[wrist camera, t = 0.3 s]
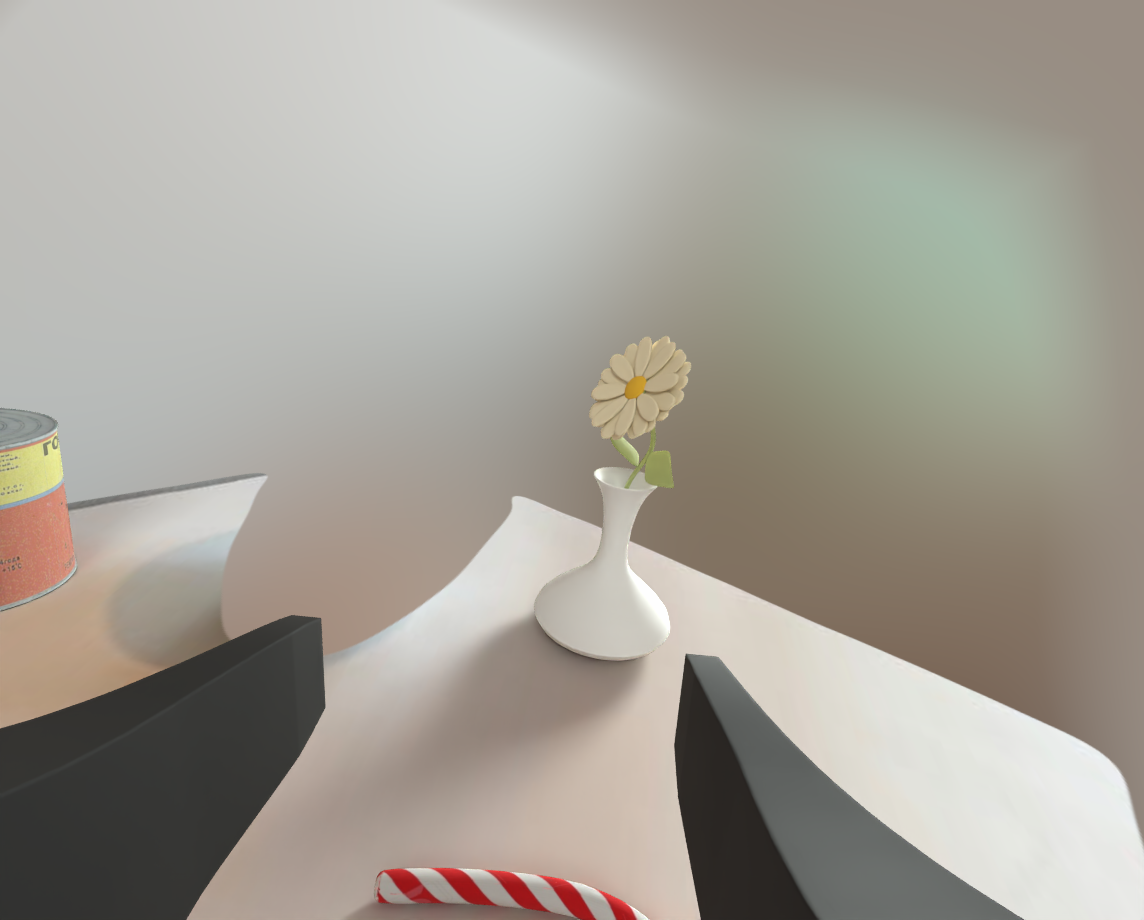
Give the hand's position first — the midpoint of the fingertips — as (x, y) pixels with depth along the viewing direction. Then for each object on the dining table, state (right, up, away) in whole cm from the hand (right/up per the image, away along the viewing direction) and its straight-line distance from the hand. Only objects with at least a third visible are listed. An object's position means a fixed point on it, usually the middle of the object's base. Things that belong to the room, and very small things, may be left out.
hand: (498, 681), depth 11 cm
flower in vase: (+4, -11, +37) cm, 38 cm away
